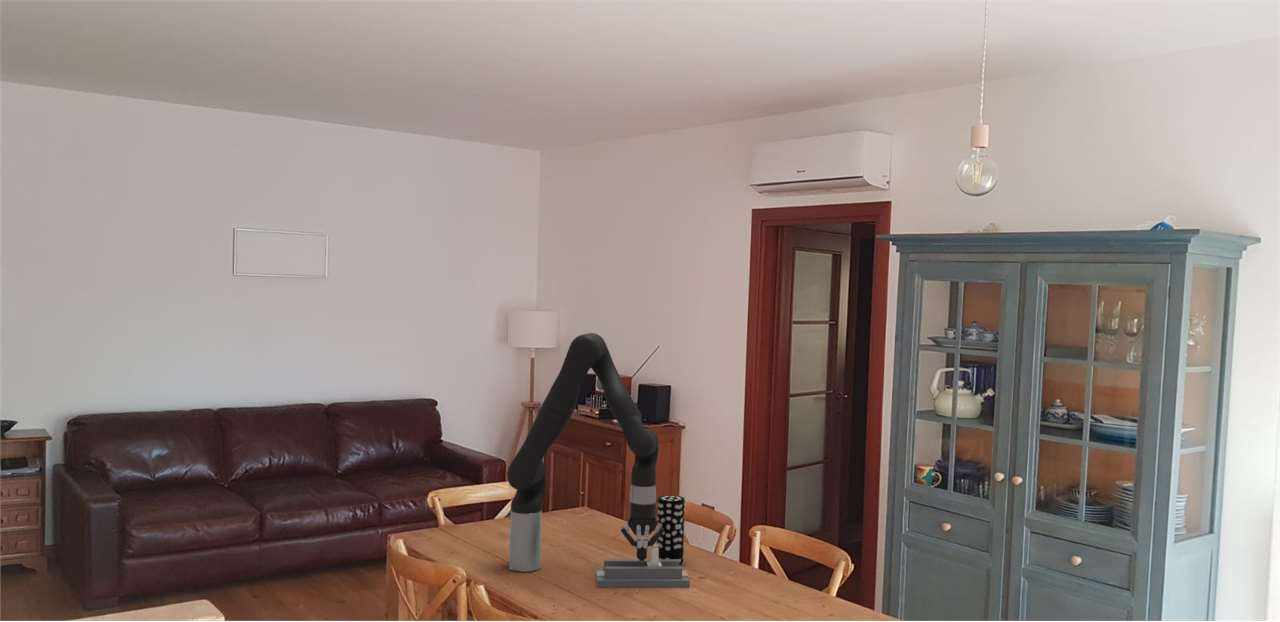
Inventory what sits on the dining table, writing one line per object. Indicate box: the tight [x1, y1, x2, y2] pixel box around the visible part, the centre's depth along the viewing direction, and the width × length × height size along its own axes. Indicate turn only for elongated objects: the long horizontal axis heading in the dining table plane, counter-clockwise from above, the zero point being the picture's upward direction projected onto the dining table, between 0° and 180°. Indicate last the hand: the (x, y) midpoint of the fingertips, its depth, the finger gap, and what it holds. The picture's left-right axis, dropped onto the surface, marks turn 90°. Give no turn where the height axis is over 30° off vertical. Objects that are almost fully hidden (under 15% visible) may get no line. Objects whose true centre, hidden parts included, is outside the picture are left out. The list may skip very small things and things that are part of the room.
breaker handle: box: [647, 544, 662, 566], centre depth 273 cm, size 4×4×8 cm
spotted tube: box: [656, 494, 686, 566], centre depth 291 cm, size 8×8×20 cm
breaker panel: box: [595, 558, 691, 589], centre depth 273 cm, size 26×12×5 cm, turn 94°
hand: (641, 560), depth 272 cm, fingers closed
